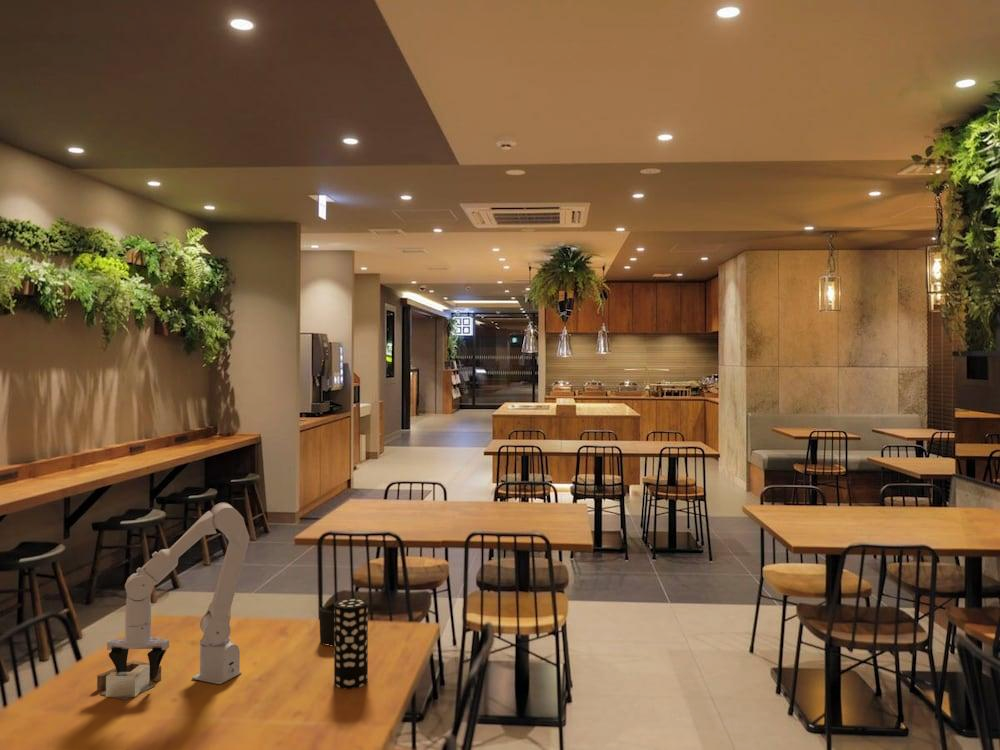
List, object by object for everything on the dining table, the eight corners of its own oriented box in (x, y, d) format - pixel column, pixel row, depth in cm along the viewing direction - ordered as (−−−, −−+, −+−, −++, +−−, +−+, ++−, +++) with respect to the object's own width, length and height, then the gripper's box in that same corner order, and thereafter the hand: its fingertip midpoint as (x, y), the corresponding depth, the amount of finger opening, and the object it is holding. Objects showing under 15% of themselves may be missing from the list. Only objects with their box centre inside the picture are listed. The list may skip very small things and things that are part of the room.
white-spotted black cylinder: (353, 672, 186) (353, 596, 187) (374, 681, 181) (374, 602, 181) (327, 683, 180) (327, 603, 180) (348, 692, 175) (348, 610, 175)
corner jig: (161, 679, 182) (161, 665, 182) (125, 696, 172) (125, 681, 172) (133, 673, 186) (133, 660, 186) (97, 689, 176) (97, 675, 176)
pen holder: (352, 645, 206) (352, 610, 206) (318, 648, 204) (318, 613, 204) (351, 634, 215) (351, 601, 216) (319, 637, 213) (319, 603, 213)
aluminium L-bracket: (134, 696, 172) (134, 676, 172) (105, 696, 172) (106, 676, 172) (149, 684, 179) (149, 664, 179) (121, 684, 179) (121, 664, 179)
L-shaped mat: (154, 686, 178) (154, 685, 178) (125, 700, 170) (125, 699, 170) (130, 681, 181) (130, 680, 181) (100, 694, 173) (100, 693, 173)
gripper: (175, 617, 180) (174, 671, 180) (118, 617, 180) (117, 671, 180) (161, 627, 173) (161, 683, 173) (102, 627, 173) (101, 683, 173)
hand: (138, 678), depth 176 cm, fingers open, 7 cm apart
